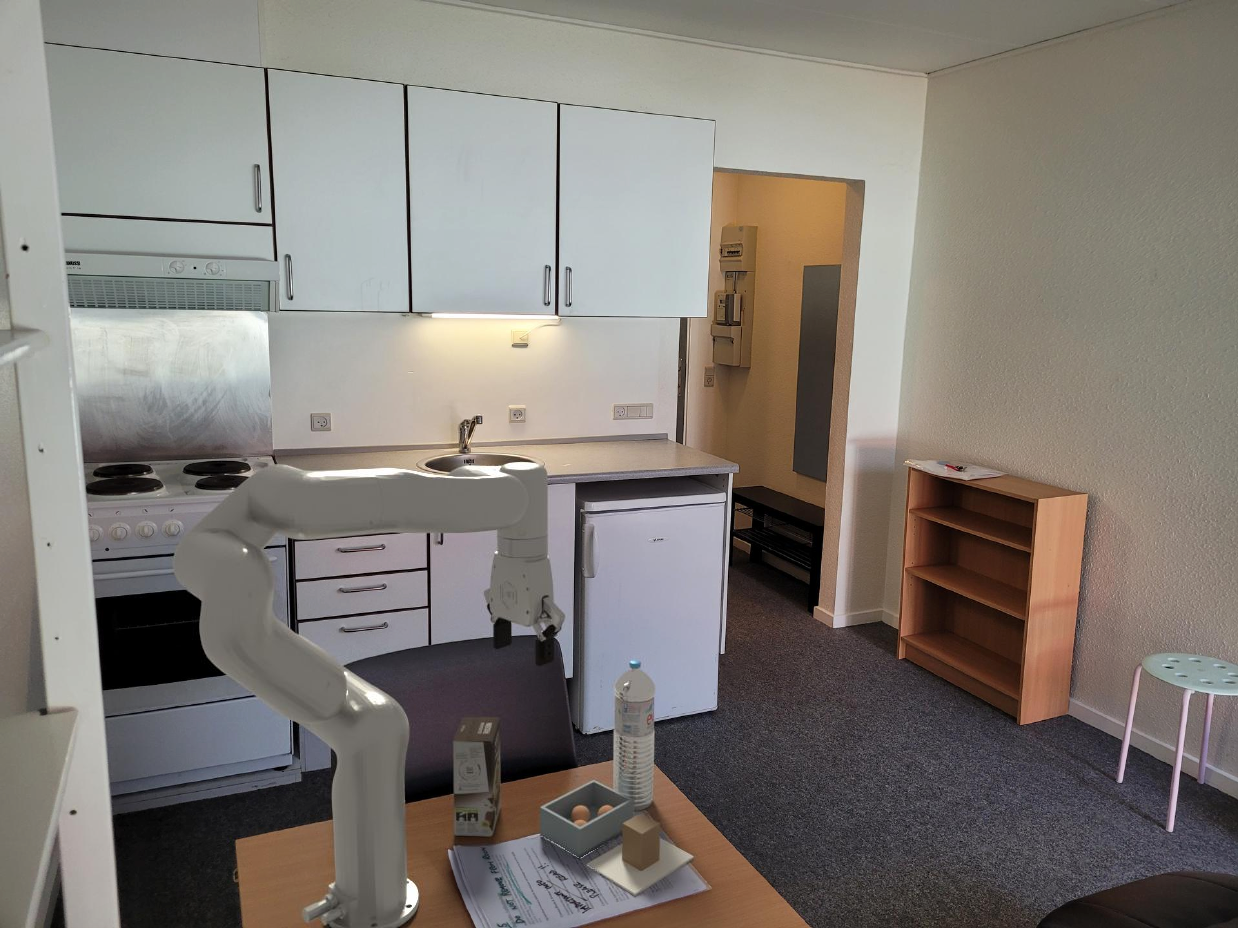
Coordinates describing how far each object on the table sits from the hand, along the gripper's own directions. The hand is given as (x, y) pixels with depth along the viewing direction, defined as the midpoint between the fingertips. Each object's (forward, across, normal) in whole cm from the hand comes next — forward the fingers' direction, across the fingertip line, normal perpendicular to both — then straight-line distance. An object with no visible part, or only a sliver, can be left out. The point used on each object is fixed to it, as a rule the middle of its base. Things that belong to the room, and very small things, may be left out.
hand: (523, 654), depth 140 cm
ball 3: (+28, +8, +11) cm, 31 cm away
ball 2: (+28, +8, +5) cm, 29 cm away
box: (+30, +6, +8) cm, 32 cm away
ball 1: (+28, +4, +8) cm, 29 cm away
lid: (+31, +18, +8) cm, 36 cm away
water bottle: (+31, +5, +20) cm, 37 cm away
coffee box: (+31, -9, -2) cm, 32 cm away
